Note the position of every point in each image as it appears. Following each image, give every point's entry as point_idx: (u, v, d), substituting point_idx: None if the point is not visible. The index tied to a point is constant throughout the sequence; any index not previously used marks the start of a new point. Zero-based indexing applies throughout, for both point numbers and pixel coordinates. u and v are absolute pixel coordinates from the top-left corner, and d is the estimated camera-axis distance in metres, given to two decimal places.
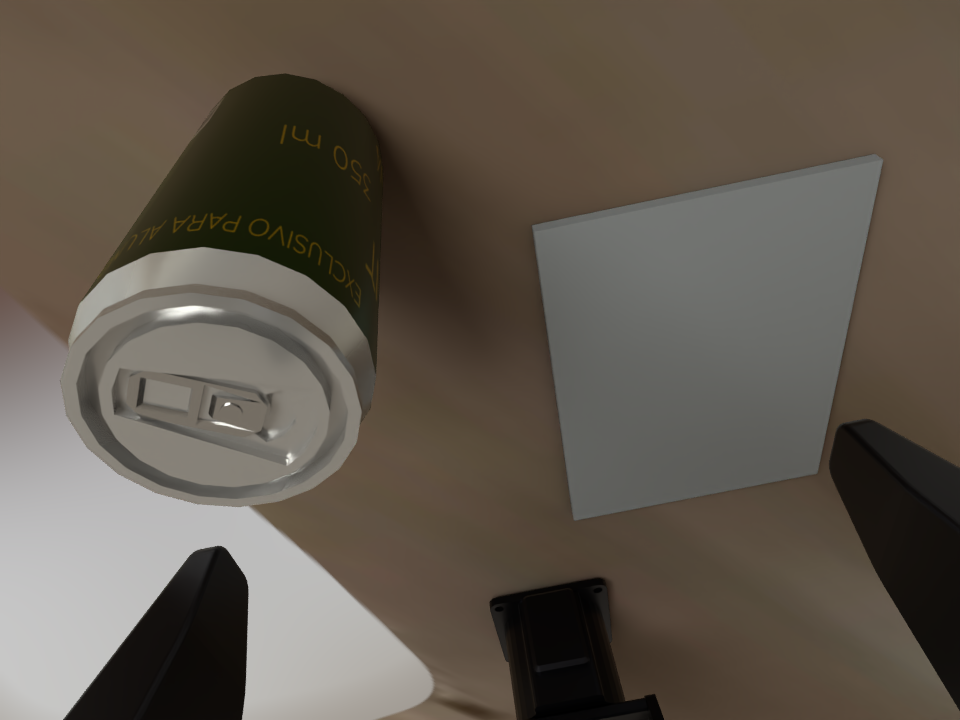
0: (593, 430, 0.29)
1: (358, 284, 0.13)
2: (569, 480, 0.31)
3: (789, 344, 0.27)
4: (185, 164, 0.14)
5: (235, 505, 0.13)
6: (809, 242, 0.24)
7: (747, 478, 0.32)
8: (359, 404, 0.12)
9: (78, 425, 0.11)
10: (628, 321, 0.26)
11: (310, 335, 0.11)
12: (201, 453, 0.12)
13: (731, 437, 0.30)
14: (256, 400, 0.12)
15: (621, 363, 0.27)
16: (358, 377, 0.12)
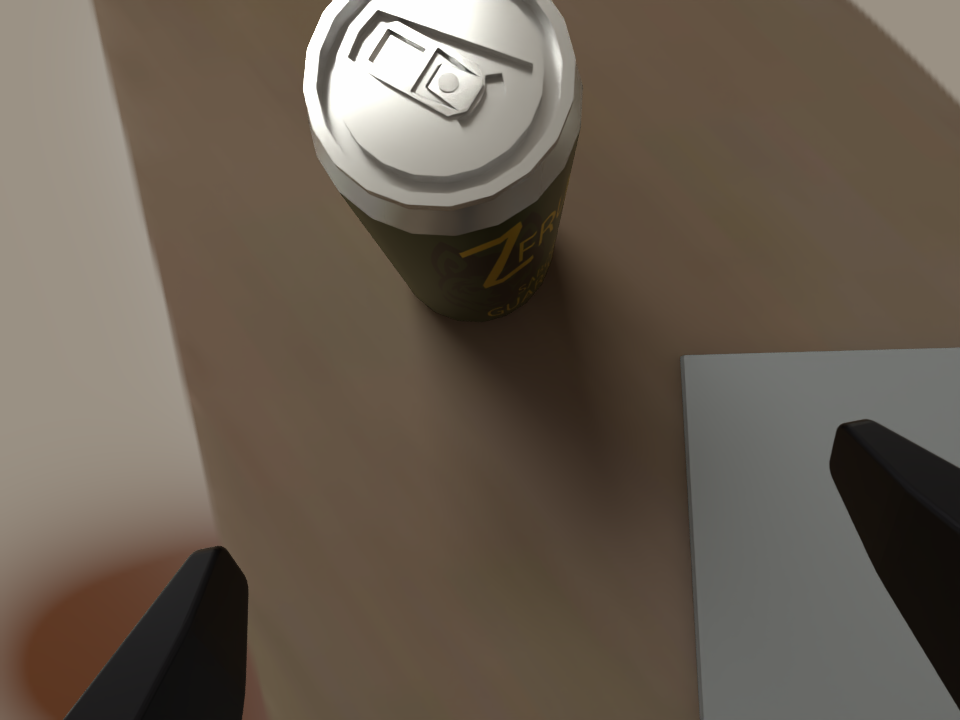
0: (743, 664, 0.22)
1: None
2: None
3: None
4: None
5: (404, 199, 0.12)
6: None
7: None
8: (572, 92, 0.12)
9: (311, 60, 0.12)
10: (787, 491, 0.22)
11: (550, 6, 0.12)
12: (401, 120, 0.12)
13: None
14: (476, 73, 0.12)
15: (780, 554, 0.22)
16: None
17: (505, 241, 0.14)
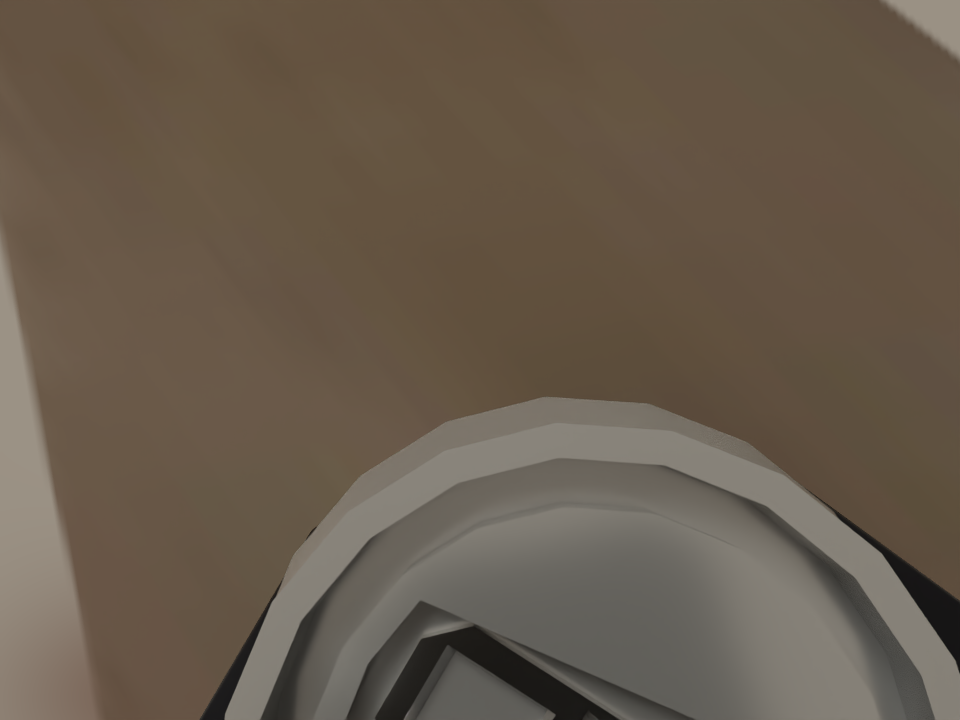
0: None
1: None
2: None
3: None
4: None
5: None
6: None
7: None
8: None
9: None
10: None
11: (912, 615, 0.04)
12: None
13: None
14: None
15: None
16: None
17: None
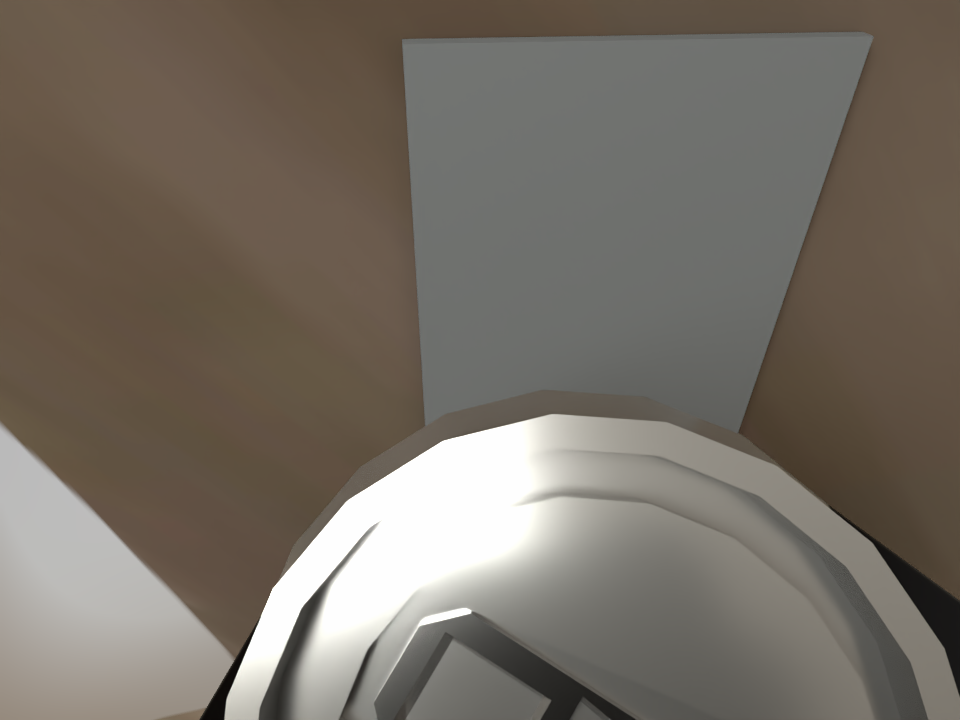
0: (462, 366, 0.22)
1: None
2: None
3: (718, 286, 0.21)
4: None
5: None
6: (764, 142, 0.19)
7: None
8: None
9: None
10: (521, 214, 0.19)
11: (902, 604, 0.04)
12: None
13: None
14: None
15: (506, 276, 0.20)
16: None
17: None
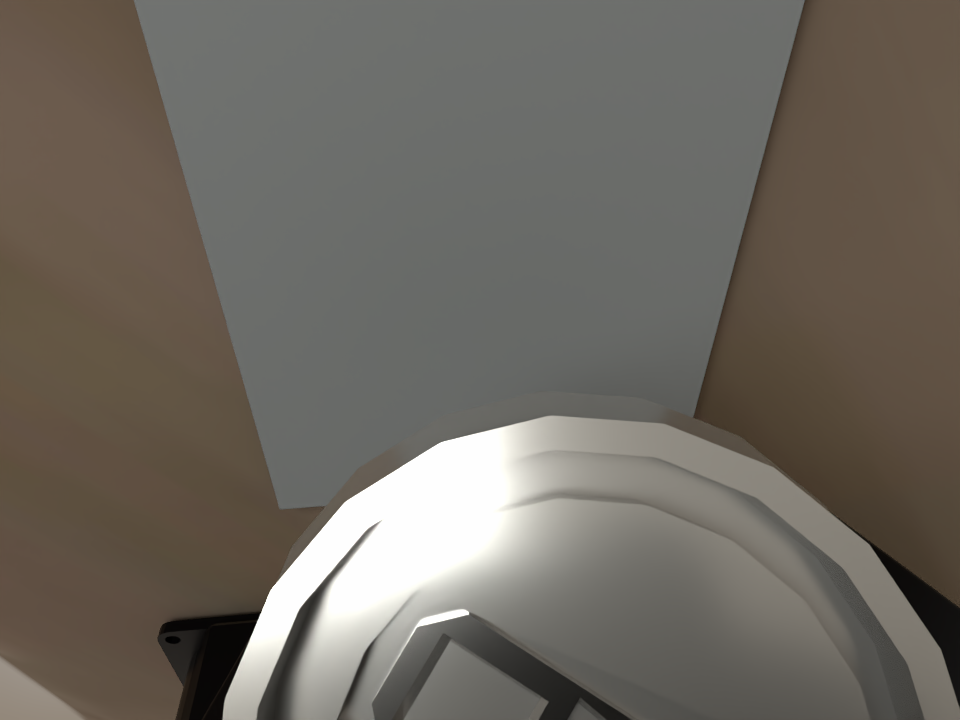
0: (290, 344, 0.16)
1: None
2: (260, 436, 0.18)
3: (643, 227, 0.15)
4: None
5: None
6: None
7: None
8: None
9: None
10: (334, 111, 0.13)
11: (898, 605, 0.04)
12: None
13: None
14: None
15: (330, 209, 0.14)
16: None
17: None
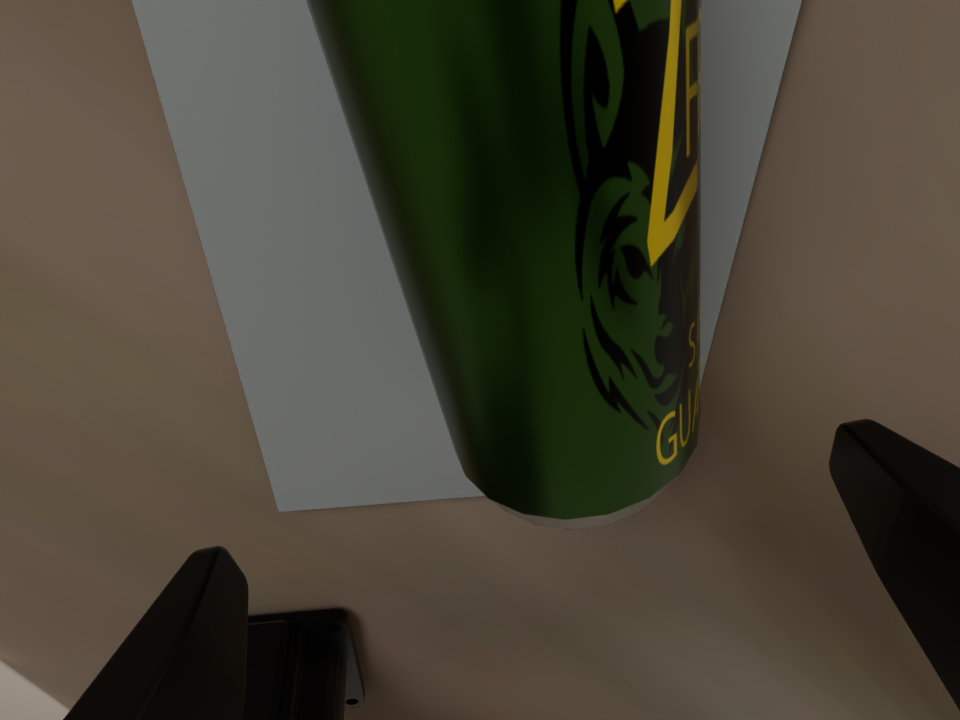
0: (290, 347, 0.16)
1: None
2: (259, 439, 0.18)
3: None
4: None
5: None
6: None
7: None
8: None
9: None
10: (333, 115, 0.13)
11: None
12: None
13: None
14: None
15: (328, 213, 0.14)
16: None
17: None
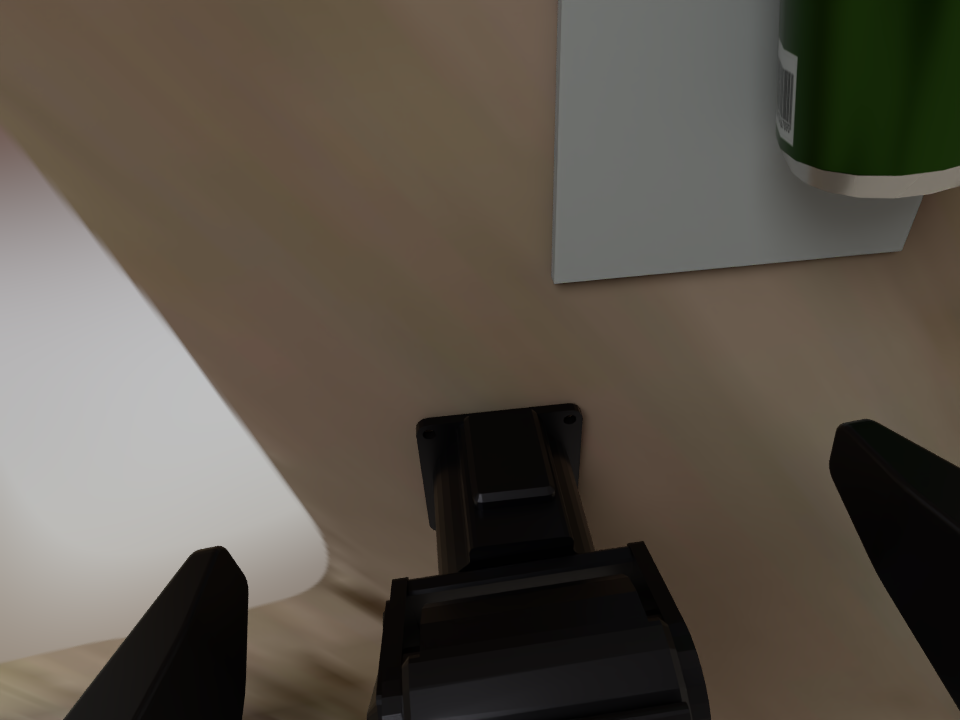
0: (607, 96, 0.19)
1: None
2: (557, 200, 0.20)
3: None
4: None
5: None
6: None
7: (808, 243, 0.22)
8: None
9: None
10: None
11: None
12: None
13: None
14: None
15: None
16: None
17: None
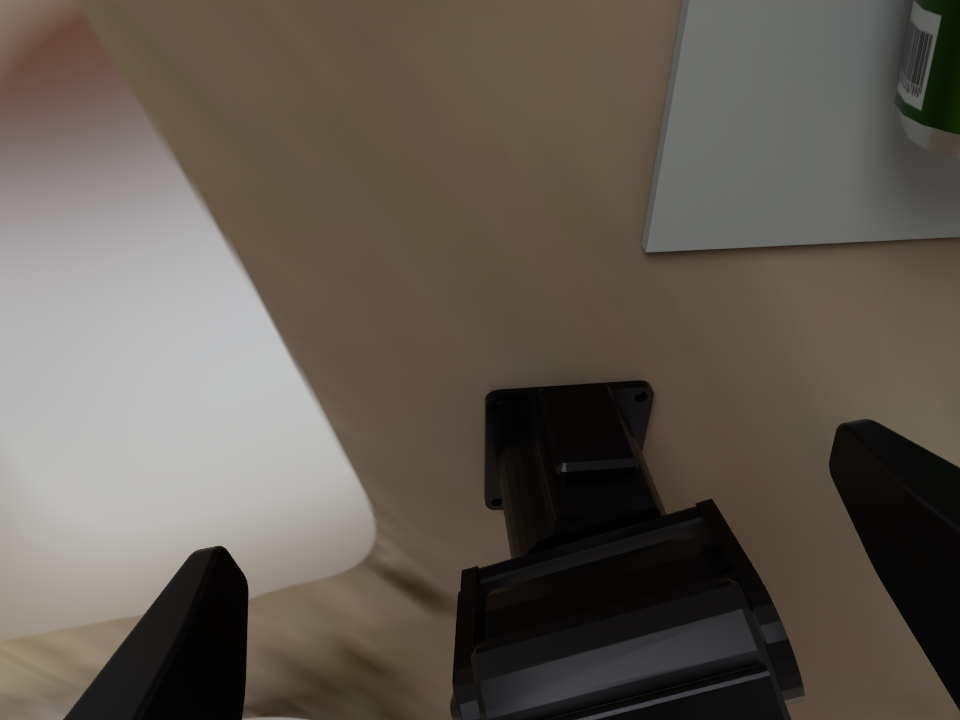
0: (727, 57, 0.18)
1: None
2: (662, 164, 0.20)
3: None
4: None
5: None
6: None
7: (899, 222, 0.22)
8: None
9: None
10: None
11: None
12: None
13: None
14: None
15: None
16: None
17: None
